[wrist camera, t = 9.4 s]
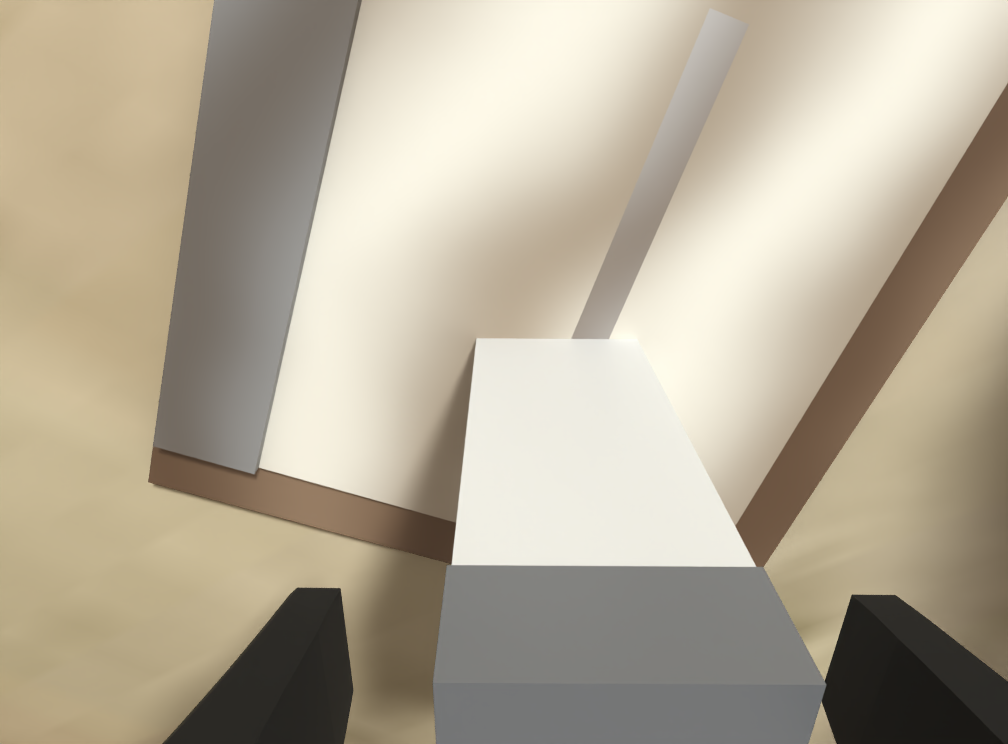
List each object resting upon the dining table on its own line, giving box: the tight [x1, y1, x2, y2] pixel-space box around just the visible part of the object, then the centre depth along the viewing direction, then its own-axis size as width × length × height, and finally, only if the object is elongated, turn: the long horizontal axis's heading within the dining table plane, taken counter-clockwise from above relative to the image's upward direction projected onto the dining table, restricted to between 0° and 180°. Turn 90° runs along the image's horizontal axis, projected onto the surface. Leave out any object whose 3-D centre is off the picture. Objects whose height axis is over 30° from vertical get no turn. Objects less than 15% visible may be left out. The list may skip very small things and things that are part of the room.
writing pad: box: [148, 0, 1008, 567], centre depth 14 cm, size 16×18×1 cm
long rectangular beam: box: [433, 338, 826, 744], centre depth 11 cm, size 4×4×9 cm
